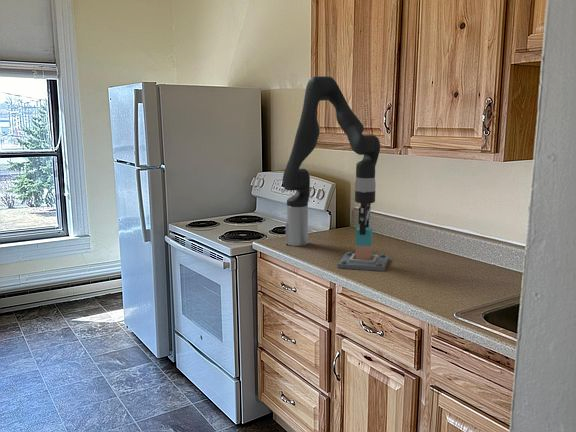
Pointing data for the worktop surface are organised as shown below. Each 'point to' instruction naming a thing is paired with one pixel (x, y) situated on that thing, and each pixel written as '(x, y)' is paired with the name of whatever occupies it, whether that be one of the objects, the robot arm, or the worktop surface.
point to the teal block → (364, 237)
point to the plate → (363, 262)
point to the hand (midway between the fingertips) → (364, 232)
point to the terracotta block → (363, 252)
